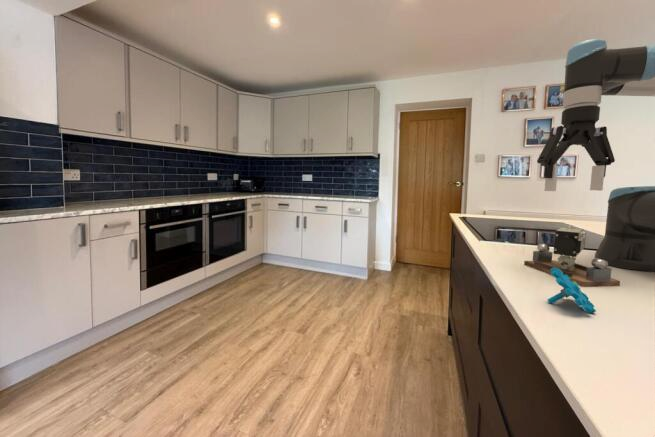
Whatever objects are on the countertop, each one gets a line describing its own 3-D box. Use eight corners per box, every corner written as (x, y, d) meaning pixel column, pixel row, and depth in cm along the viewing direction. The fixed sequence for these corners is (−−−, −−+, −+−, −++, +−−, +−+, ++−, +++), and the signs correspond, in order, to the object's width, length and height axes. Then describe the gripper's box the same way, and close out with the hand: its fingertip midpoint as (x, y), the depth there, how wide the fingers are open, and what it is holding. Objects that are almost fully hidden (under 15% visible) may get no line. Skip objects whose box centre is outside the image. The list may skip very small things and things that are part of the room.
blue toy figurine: (596, 314, 53) (552, 266, 58) (564, 329, 56) (524, 282, 61) (602, 305, 61) (562, 263, 66) (573, 319, 64) (537, 278, 69)
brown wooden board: (553, 264, 91) (554, 257, 91) (619, 285, 73) (620, 276, 72) (524, 264, 91) (524, 257, 90) (582, 286, 72) (583, 278, 72)
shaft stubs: (546, 260, 91) (547, 243, 90) (610, 281, 72) (612, 260, 72) (532, 260, 91) (534, 243, 90) (593, 281, 72) (595, 260, 71)
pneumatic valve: (550, 272, 79) (554, 227, 78) (559, 263, 87) (563, 222, 86) (577, 276, 75) (582, 229, 74) (583, 267, 84) (588, 224, 82)
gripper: (608, 111, 83) (600, 189, 85) (525, 110, 80) (519, 190, 82) (639, 104, 75) (630, 190, 78) (548, 102, 72) (542, 191, 75)
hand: (573, 190), depth 80 cm, fingers open, 13 cm apart
